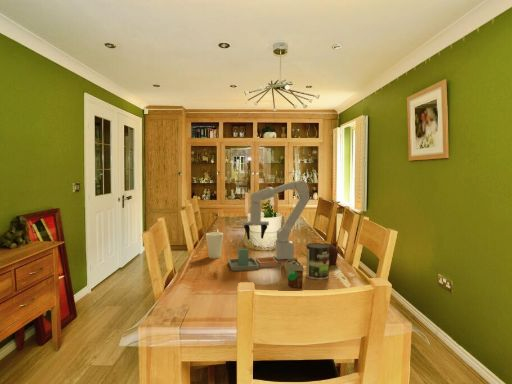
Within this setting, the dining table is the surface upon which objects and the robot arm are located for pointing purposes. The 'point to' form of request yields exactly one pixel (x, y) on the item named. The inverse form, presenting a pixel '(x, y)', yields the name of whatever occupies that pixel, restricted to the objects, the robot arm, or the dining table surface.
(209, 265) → the dining table surface
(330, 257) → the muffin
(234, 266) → the slate tray
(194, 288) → the dining table surface
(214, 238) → the foam cup
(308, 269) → the coffee can
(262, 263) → the orange square frame
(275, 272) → the dining table surface
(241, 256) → the teal block
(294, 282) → the food container
